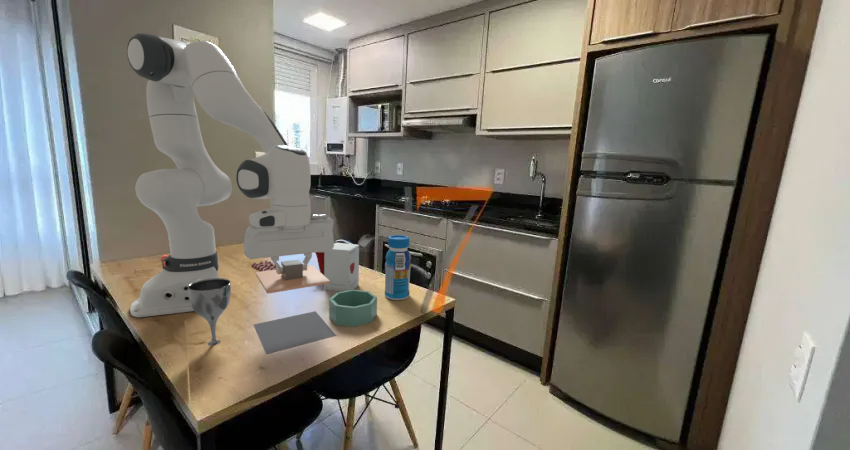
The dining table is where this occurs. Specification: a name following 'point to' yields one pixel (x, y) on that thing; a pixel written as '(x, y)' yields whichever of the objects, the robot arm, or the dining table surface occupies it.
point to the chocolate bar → (264, 266)
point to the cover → (291, 277)
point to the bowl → (352, 308)
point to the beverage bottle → (397, 268)
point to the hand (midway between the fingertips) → (291, 271)
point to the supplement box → (342, 267)
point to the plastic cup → (320, 261)
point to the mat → (292, 331)
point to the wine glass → (210, 301)
